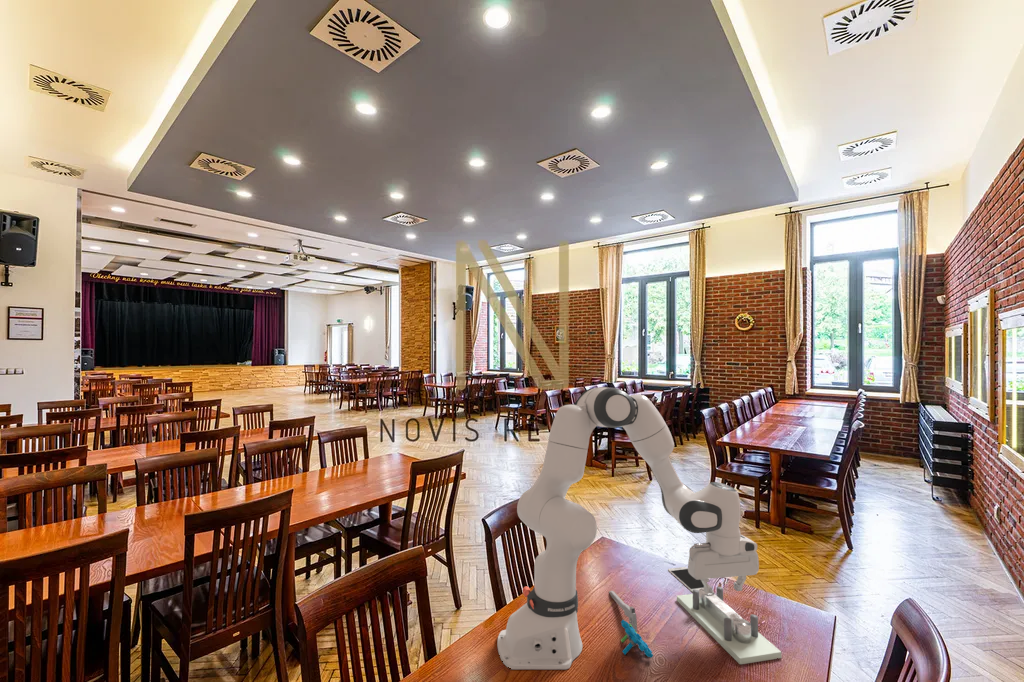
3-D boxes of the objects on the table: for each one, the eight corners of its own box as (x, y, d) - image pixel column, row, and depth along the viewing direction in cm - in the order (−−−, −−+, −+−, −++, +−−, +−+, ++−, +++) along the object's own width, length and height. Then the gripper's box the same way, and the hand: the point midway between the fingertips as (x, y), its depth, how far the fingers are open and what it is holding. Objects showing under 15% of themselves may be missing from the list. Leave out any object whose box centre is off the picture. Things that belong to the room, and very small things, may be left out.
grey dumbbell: (740, 644, 113) (740, 629, 113) (696, 602, 132) (696, 589, 132) (755, 642, 114) (754, 627, 114) (708, 600, 133) (708, 587, 133)
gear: (659, 661, 107) (629, 629, 108) (643, 680, 106) (613, 648, 108) (647, 638, 118) (619, 609, 119) (632, 655, 117) (605, 626, 118)
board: (739, 664, 108) (739, 638, 108) (676, 600, 135) (676, 579, 136) (781, 657, 110) (781, 632, 110) (711, 596, 138) (710, 575, 138)
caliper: (637, 634, 120) (637, 611, 120) (633, 634, 120) (633, 611, 120) (611, 592, 140) (611, 573, 140) (608, 593, 140) (608, 573, 140)
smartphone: (694, 595, 139) (694, 592, 139) (667, 571, 154) (667, 568, 154) (713, 592, 141) (713, 589, 141) (685, 569, 156) (685, 566, 156)
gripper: (696, 549, 118) (696, 600, 118) (762, 544, 122) (762, 594, 121) (683, 539, 124) (683, 588, 124) (746, 535, 128) (746, 582, 127)
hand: (723, 591), depth 123 cm, fingers open, 8 cm apart
